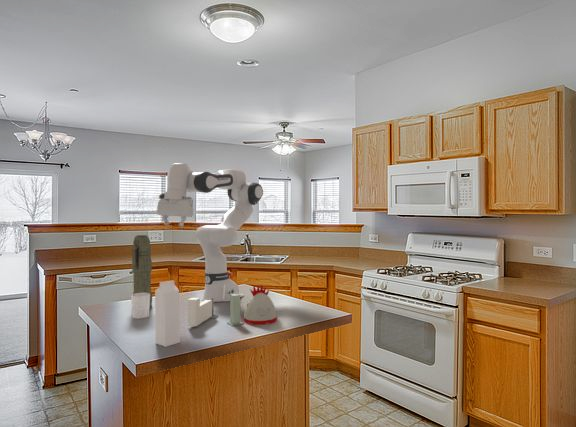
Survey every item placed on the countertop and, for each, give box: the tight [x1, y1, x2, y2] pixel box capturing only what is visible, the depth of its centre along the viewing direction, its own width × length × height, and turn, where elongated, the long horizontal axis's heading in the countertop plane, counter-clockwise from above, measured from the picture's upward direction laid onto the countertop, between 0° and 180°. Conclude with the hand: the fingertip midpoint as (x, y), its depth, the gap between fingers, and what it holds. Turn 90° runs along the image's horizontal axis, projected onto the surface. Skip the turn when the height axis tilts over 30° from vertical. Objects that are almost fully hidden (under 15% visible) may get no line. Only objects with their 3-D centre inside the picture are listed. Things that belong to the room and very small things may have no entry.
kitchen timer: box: [243, 284, 278, 326], centre depth 174 cm, size 14×14×15 cm
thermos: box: [131, 234, 153, 309], centre depth 198 cm, size 9×12×35 cm
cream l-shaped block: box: [187, 297, 212, 327], centre depth 170 cm, size 16×4×10 cm, turn 166°
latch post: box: [226, 294, 245, 327], centre depth 168 cm, size 5×5×12 cm
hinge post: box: [207, 298, 218, 320], centre depth 179 cm, size 6×6×8 cm
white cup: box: [130, 293, 151, 320], centre depth 181 cm, size 8×8×10 cm
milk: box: [154, 279, 181, 348], centre depth 145 cm, size 6×6×22 cm
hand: (173, 225), depth 192 cm, fingers open, 8 cm apart
